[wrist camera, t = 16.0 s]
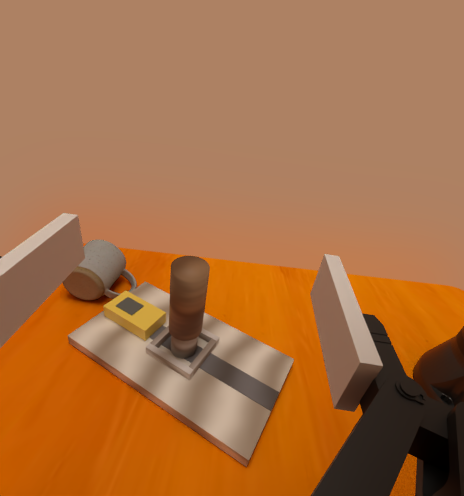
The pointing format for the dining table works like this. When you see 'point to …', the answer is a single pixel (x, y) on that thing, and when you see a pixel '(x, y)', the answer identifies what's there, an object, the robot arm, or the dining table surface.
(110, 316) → the block
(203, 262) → the brown tall rounded piece
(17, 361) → the dining table surface
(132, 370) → the subfloor panel
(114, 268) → the ceramic mug
